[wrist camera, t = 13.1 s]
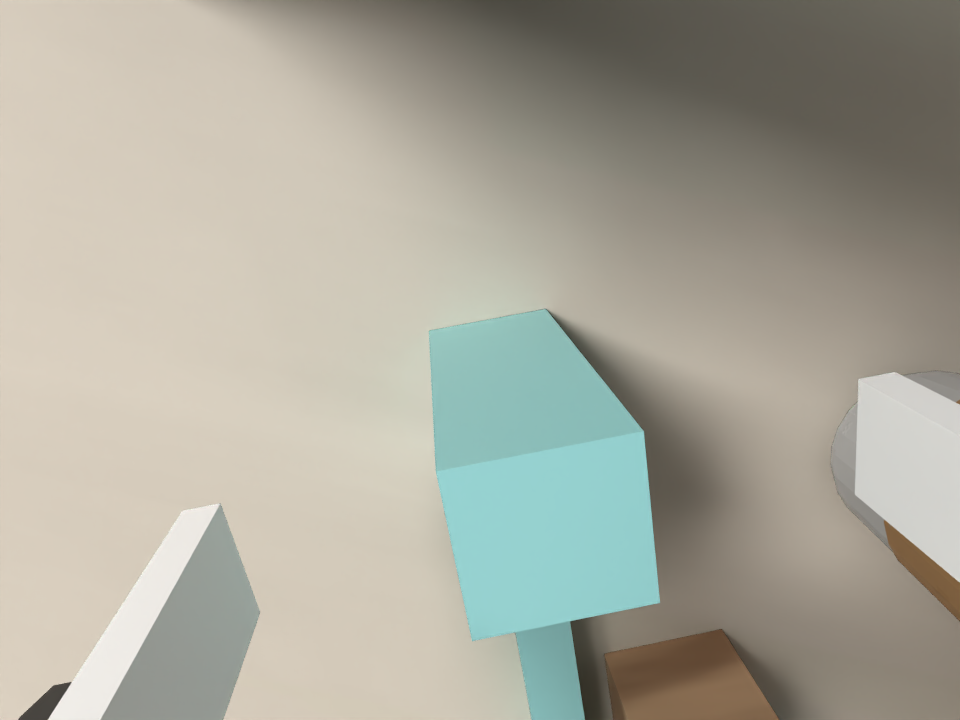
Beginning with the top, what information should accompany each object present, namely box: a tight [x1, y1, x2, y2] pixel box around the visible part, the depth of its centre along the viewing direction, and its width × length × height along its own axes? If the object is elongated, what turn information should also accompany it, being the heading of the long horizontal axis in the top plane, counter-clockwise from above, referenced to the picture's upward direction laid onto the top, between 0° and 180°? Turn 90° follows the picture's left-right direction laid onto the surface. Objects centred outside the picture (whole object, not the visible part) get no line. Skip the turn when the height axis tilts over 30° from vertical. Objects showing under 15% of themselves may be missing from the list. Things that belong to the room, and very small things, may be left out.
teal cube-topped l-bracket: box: [429, 309, 660, 720], centre depth 20 cm, size 22×11×10 cm, turn 10°
